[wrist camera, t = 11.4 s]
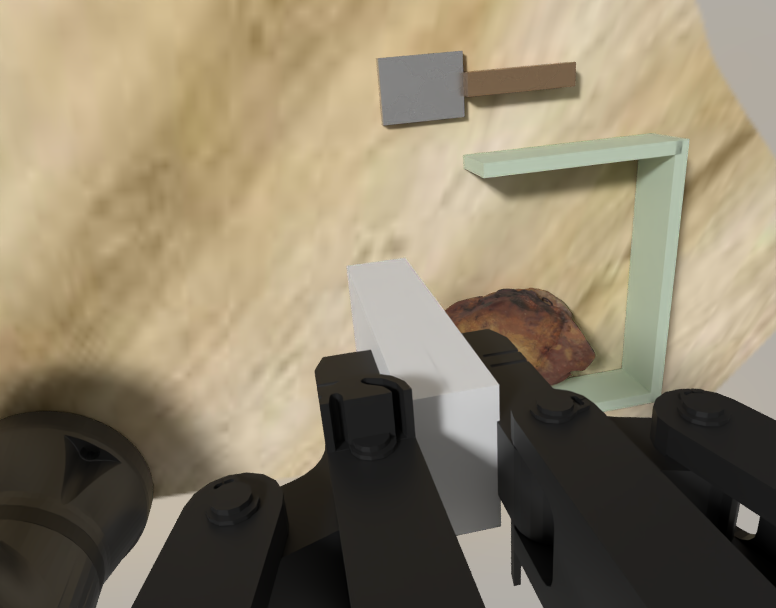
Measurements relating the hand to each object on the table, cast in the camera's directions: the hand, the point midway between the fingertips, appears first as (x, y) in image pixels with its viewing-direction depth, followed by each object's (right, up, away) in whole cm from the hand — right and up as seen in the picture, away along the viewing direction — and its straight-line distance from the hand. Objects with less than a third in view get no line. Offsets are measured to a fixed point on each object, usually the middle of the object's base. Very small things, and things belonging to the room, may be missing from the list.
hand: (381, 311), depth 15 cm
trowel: (+6, +16, +27) cm, 32 cm away
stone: (+8, -3, +35) cm, 37 cm away
